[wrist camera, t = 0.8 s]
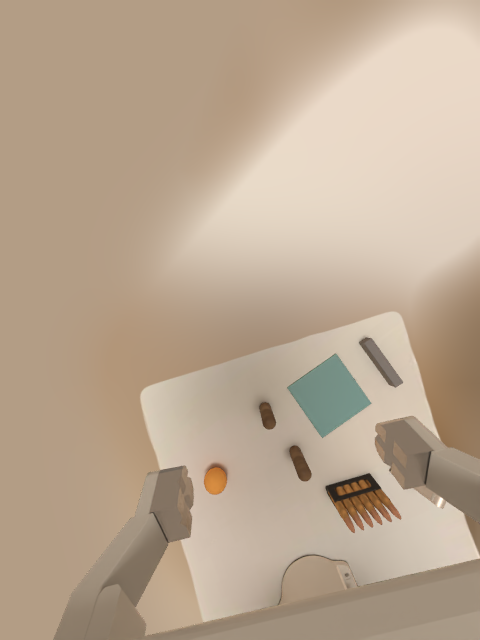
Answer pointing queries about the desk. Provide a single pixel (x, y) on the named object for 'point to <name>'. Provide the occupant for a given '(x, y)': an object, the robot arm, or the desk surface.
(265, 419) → the post
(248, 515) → the desk surface
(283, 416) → the desk surface
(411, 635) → the robot arm
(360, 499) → the ammunition clip
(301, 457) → the post
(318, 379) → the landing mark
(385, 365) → the wall
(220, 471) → the ball
